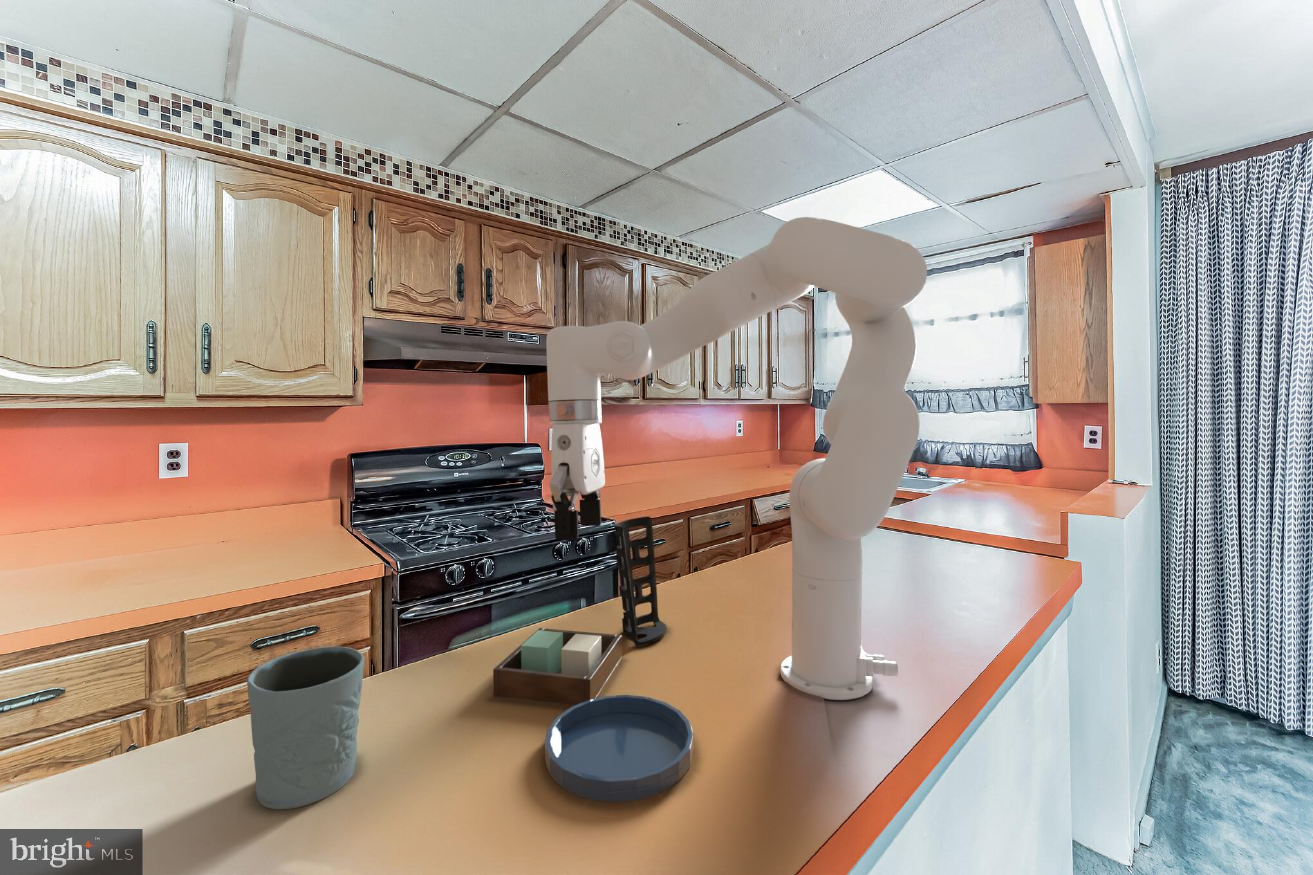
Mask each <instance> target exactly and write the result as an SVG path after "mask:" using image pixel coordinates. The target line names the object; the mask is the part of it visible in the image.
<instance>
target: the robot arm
mask: <svg viewBox="0 0 1313 875" xmlns="http://www.w3.org/2000/svg"><path fill="white" fill-rule="evenodd" d="M927 266H928V265H927V262H926V260H925V258H924V256H923V254H922V253H921V252H920V251H919V249H918V248H917V247H915V246H914V245H913V244H911V243H910V242H908V241H905V240H903V239H901V238H899V237H895V236H892V235H888V234H884V233H881V232H877V231H874V230H869V229H866V228H862V227H858V226H854V225H850V224H847V223H843V222H839V221H836V220H835V221H834V220H831V219H827V218H826V219H825V218H821V217H820V218H819V217H813V216H801V217H795V218H793V219H790V220H788V221H786V222H785V223H783V224H782V225H781V226H780V227H779V228H778V229H777V230H776V232H775V233H774V236H773V237H772V239H771V241H770V243H768V244H766V245H765V246H762V247H760V248H759V249H756V250H754V251H753V252H751V253H749V254H746V255H745V256H743V257H741V258H739V259H738V260H735V261H734V262H731V263H729V264H728V265H726V266H725V265H724V267H721V268H720V269H718V270H715V271H713V272H711V273H709V274H707V275H705V276H704V277H702V278H700V279H699V280H698V281H697V282H696V283H694V284H693V285H692V286H691V287H690V288H689V289H688V291H687V292H686V293H685V294H684V295H683V296H682V297H681V298H680V300H678V301H677V302H676V303H675V304H674V305H672V306H671V307H670V308H668V309H667V310H666V311H664V312H662V313H661V314H659V315H658V316H655V317H654V318H652V319H651V320H648V321H646V322H645V323H642V324H640V325H639V324H637V323H635V322H633V321H628V320H619V321H612V322H608V323H602V324H595V325H592V326H581V325H564V326H558V327H557V326H556V327H554V328H551V329H550V330H549V331H548V332H547V335H546V339H545V343H546V345H545V346H546V347H545V348H546V374H547V397H548V398H547V400H548V404H547V405H548V424H549V426H552V431H551V450H550V451H551V453H550V455H551V456H550V464H551V465H550V467H551V468H550V470H551V479H550V481H549V488H550V492H551V501H552V503H553V504H552V511H553V514H554V517H553V518H554V538H555V540H556V541H577V540H578V539H579V538H580V537H579V536H580V535H579V534H580V533H579V525H580V526H581V527H599V526H601V525H602V506H601V505H602V504H601V496H602V494H601V491H600V490H601V489H603V488H604V486H605V484H606V472H605V471H606V470H605V459H604V447H603V438H602V432H601V427H600V424H602V423H603V416H602V414H603V413H602V389H601V387H602V386H601V374H605V375H613V376H616V377H617V378H619V379H621V380H626V381H635V380H639V379H641V378H644V377H646V376H648V375H650V374H653V373H655V372H656V371H659V370H660V369H663V368H664V367H667V366H669V365H671V364H672V363H674V362H676V361H678V360H680V359H682V358H684V357H686V356H688V355H689V354H691V353H693V352H695V351H697V350H699V349H700V348H702V347H705V346H706V345H709V344H711V343H713V342H716V341H718V340H719V339H720V338H722V337H724V336H726V335H727V334H730V333H731V332H733V331H736V330H737V329H739V328H741V327H743V326H745V325H747V324H749V323H750V322H752V321H754V320H757V319H759V318H761V317H762V316H764V315H766V314H768V313H770V312H772V311H775V310H777V309H779V308H781V307H783V306H785V305H787V304H789V303H791V302H793V301H795V300H797V299H799V298H801V297H803V296H804V295H805V294H807V293H809V292H810V291H811V290H812V289H813V288H814V287H815V288H819V289H821V290H824V291H827V292H832V293H834V300H835V304H836V306H837V309H838V310H839V313H840V315H841V316H842V317H843V319H844V320H845V322H846V324H847V325H848V328H849V330H850V333H851V347H850V351H849V354H848V357H847V360H846V363H845V366H844V369H843V371H842V374H841V376H840V378H839V380H838V383H837V386H836V387H835V390H834V393H833V394H832V397H831V399H830V401H829V404H828V405H827V408H826V409H825V413H824V416H823V422H822V430H823V434H824V437H825V438H826V440H827V442H828V443H829V444H830V447H829V450H828V452H827V454H826V457H825V458H817V459H813V460H810V461H808V462H806V463H805V464H803V465H801V467H800V468H799V469H798V470H797V471H796V473H795V474H794V476H793V478H792V480H791V482H790V486H789V492H788V493H789V495H788V496H789V497H788V500H789V501H788V502H789V504H788V505H789V514H790V527H791V548H792V549H791V550H792V551H791V552H792V553H791V556H792V557H791V558H792V559H791V560H792V567H791V655H789V656H788V657H786V658H784V659H783V660H782V661H781V663H780V675H781V678H782V680H783V681H784V682H786V683H787V684H788V685H790V686H791V687H793V688H794V689H796V690H799V691H801V692H803V693H806V694H809V695H813V696H817V697H822V698H823V699H824V700H833V701H848V700H855V699H858V698H862V697H864V696H865V695H867V694H869V693H870V692H871V691H872V689H873V687H874V686H873V685H874V684H873V683H874V680H873V678H874V675H881V676H885V677H896V678H897V677H898V676H899V666H898V662H897V661H893V660H891V661H890V660H885V656H884V655H883V654H868V653H867V652H866V651H864V649H863V646H862V612H863V611H862V609H863V608H862V606H863V604H862V603H863V602H862V599H863V596H862V595H863V544H862V538H864V537H865V536H868V535H869V534H871V533H872V532H873V531H875V530H876V529H877V528H878V527H879V526H880V524H881V523H882V522H883V520H884V518H885V517H886V515H887V513H888V511H889V509H890V508H891V505H892V503H893V500H894V499H895V496H896V494H897V491H898V489H899V486H900V484H901V482H902V479H903V477H904V475H905V473H906V470H907V468H908V465H909V464H910V460H911V458H912V456H913V454H914V451H915V449H916V445H917V442H918V440H919V434H920V414H919V411H918V408H917V405H916V403H915V401H914V400H913V399H912V397H911V396H910V395H909V394H908V393H907V392H905V389H906V386H907V383H908V381H909V378H910V376H911V373H912V370H913V367H914V363H915V360H916V355H917V338H916V333H915V332H916V331H915V329H914V325H913V323H912V320H911V318H910V316H909V314H908V312H907V310H906V308H905V307H906V306H908V305H910V304H911V303H913V301H914V300H915V299H916V298H917V297H919V295H920V293H921V292H922V291H923V289H924V287H925V285H926V283H927V279H928V278H927V277H928V267H927ZM579 495H580V497H581V499H579V500H578V497H579ZM569 497H570V498H569ZM577 502H579V510H578V509H576V506H577ZM579 523H580V524H579Z"/></svg>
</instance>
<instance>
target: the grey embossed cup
mask: <svg viewBox="0 0 1313 875" xmlns="http://www.w3.org/2000/svg"><path fill="white" fill-rule="evenodd" d="M364 666H365V656H364V655H363V653H362V652H361V651H359V650H358V649H355V648H352V647H349V646H348V647H346V646H339V645H338V646H337V645H334V646H333V645H332V646H319V647H314V648H313V647H312V648H308V649H302V650H297V651H294V652H290V653H287V654H284V655H281V656H278V657H275V658H272V659H271V660H269V661H267V662H265V663H262V664H261V665H259V666H258V667H256V668H255V669H254V670H253V671H252V672H251V673H249V676H248V677H247V680H246V684H247V698H248V706H249V710H250V723H251V724H250V727H251V740H252V746H253V750H254V753H253V762H254V773H255V792H256V798H257V800H258V801H259V803H260V804H261V805H262V806H263V807H265V808H266V809H267V808H268V809H271V810H279V811H280V810H281V811H282V810H292V809H297V808H301V807H305V806H308V805H311V804H315V803H316V802H319V801H321V800H324V799H325V798H327V797H329V796H331V795H332V794H334V793H336V792H337V791H339V790H340V789H341V788H343V787H344V786H345V785H346V784H347V783H348V782H349V781H350V780H351V778H352V777H353V775H354V774H355V769H356V765H357V754H358V738H357V735H358V726H359V722H360V716H359V710H360V706H361V699H362V691H363V690H362V689H363V681H364V680H363V678H364V668H365V667H364Z"/></svg>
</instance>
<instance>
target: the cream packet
mask: <svg viewBox="0 0 1313 875" xmlns="http://www.w3.org/2000/svg"><path fill="white" fill-rule="evenodd" d="M600 657H601V636H596V635H585V634H575V635H574V636H573V637H572V638H571V639H570V640H569V642H568V643H567V644H566V645H565V646H564V647H563V648H562V649H561V674H568V675H578V676H587V675H588V673H589V672H590V671H591V669H592V668H593V667H594V665H595V664H596V663H597V661H598V660H599V658H600Z"/></svg>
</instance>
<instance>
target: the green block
mask: <svg viewBox="0 0 1313 875" xmlns="http://www.w3.org/2000/svg"><path fill="white" fill-rule="evenodd" d="M537 630H538V629H537ZM537 630H536V631H537ZM536 631H535V632H536ZM535 632H534V633H535ZM534 633H533V634H534ZM531 635H532V634H531ZM531 635H530V636H531ZM530 636H529V637H530ZM529 637H528V638H529ZM528 638H527V639H528ZM527 639H526V640H527ZM526 640H525V641H526ZM525 641H524V642H525ZM522 643H523V642H522ZM522 643H521V644H522ZM521 644H520V645H521ZM562 648H563V632H551V631H540V630H538V631H537V632H536V633H535V634H534V635H532V636H531V637H530V638H529V639H528V640H527V641H526V642H525V643H523V644H522V645H521V670H531V671H540V672H550V673H557V672H558V671H559V670H560V668H561V649H562Z"/></svg>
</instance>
